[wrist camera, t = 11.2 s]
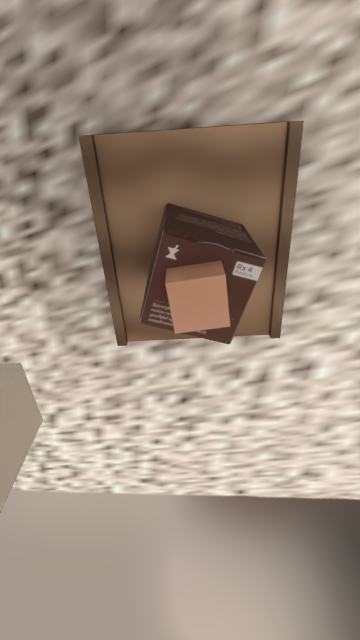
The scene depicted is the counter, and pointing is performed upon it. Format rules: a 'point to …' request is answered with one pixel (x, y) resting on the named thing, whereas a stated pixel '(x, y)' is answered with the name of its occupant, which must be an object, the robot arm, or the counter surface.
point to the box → (195, 248)
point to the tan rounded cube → (198, 297)
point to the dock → (192, 207)
